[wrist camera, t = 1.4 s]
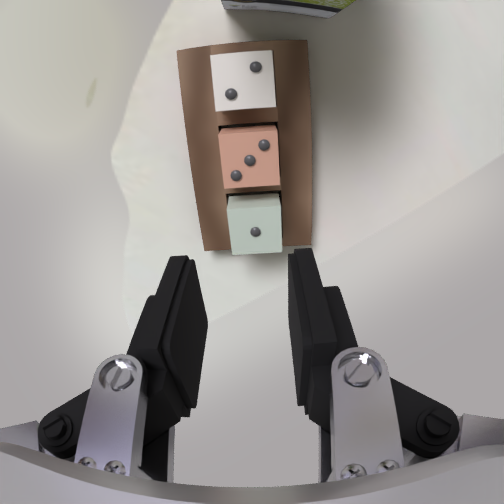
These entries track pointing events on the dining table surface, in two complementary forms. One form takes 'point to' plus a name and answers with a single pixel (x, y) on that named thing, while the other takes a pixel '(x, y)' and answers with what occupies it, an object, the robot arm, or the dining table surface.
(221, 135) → the pink three-dot die face
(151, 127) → the dining table surface
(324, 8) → the tea box
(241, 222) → the pale grey square block
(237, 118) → the tile board
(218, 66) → the two-pip tile
